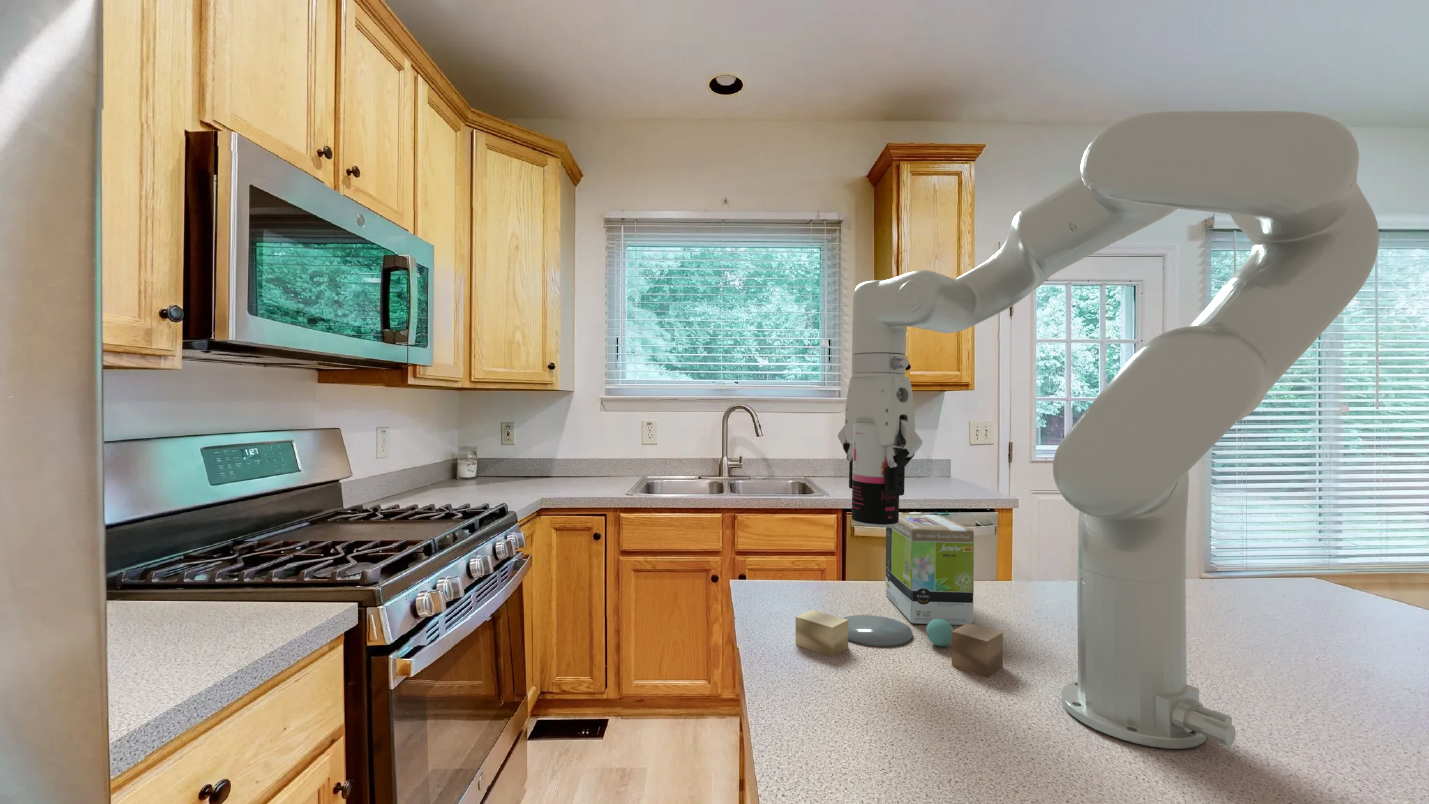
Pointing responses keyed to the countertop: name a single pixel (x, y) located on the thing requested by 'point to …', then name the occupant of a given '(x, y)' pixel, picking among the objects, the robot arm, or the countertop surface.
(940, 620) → the teal rubber ball
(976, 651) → the walnut cube
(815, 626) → the oak block
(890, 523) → the beverage can
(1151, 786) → the countertop surface
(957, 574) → the tea box
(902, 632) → the grey round disc
